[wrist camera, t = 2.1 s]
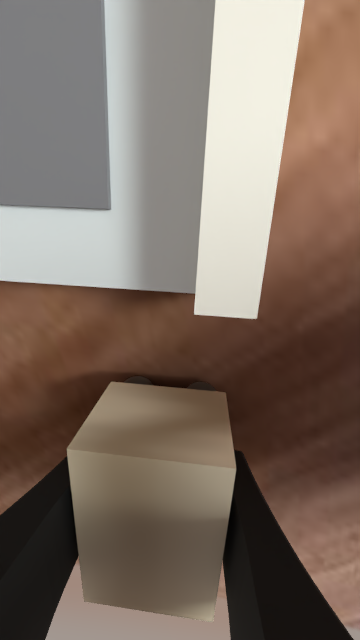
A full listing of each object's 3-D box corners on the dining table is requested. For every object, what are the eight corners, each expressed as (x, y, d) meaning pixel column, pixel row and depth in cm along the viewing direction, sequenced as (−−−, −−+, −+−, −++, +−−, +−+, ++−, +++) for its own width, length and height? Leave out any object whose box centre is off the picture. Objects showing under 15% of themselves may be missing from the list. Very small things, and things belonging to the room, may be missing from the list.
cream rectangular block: (223, 374, 10) (236, 468, 6) (209, 489, 12) (212, 622, 8) (121, 365, 10) (66, 448, 6) (124, 479, 12) (83, 601, 8)
